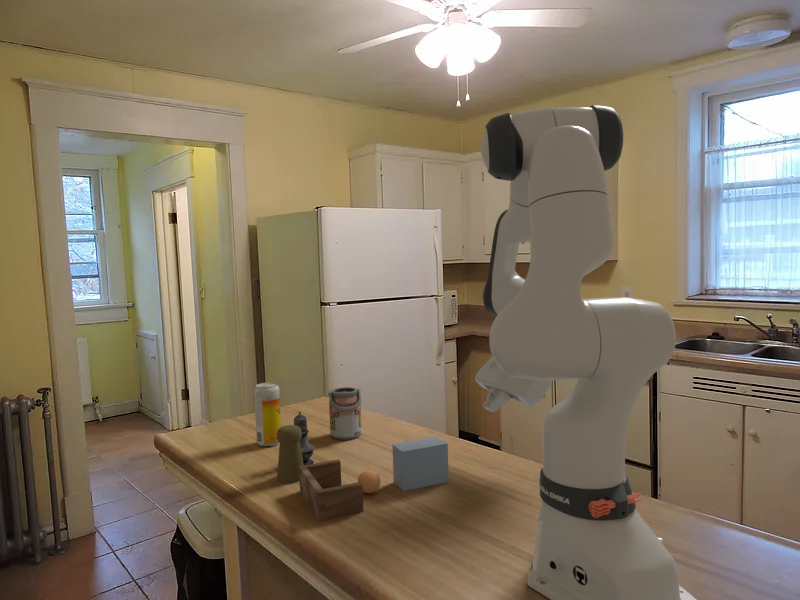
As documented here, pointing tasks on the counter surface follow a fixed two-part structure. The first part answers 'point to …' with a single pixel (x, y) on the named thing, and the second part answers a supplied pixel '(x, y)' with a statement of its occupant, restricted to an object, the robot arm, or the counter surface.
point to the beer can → (267, 413)
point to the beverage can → (345, 413)
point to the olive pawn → (289, 454)
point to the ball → (369, 481)
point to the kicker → (420, 463)
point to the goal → (329, 490)
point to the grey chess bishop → (304, 439)
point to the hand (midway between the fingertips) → (488, 409)
